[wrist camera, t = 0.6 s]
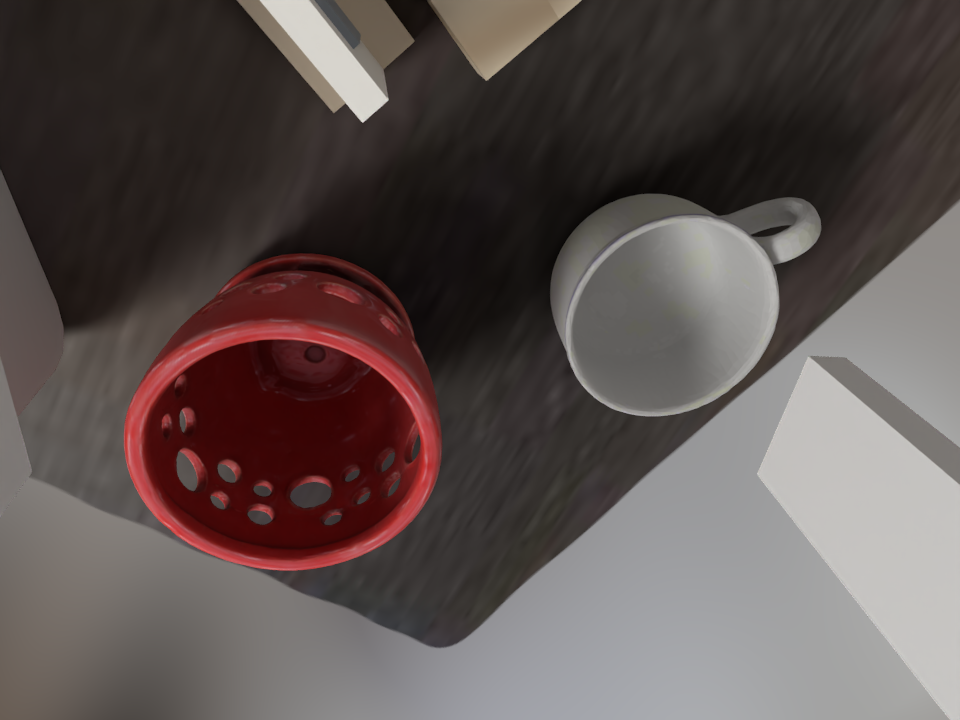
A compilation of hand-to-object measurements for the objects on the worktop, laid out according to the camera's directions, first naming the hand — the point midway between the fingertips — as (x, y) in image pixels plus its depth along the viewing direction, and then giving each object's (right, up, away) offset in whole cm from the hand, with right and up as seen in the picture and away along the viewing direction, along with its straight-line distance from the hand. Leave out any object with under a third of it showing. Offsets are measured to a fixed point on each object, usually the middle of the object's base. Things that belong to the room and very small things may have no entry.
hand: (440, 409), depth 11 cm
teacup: (+10, +7, +27) cm, 30 cm away
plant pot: (-9, +3, +26) cm, 28 cm away
